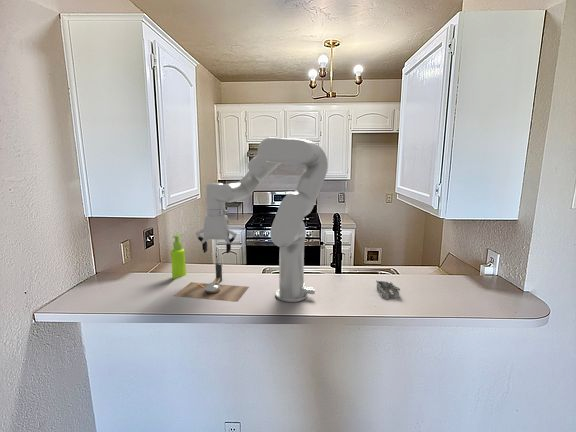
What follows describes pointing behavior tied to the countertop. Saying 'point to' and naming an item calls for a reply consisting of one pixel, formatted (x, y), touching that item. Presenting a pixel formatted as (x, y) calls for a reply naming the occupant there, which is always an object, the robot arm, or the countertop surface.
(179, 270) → the soap dispenser
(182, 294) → the brown flat rectangular board
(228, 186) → the robot arm
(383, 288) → the rough grey rock
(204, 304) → the countertop surface
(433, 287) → the countertop surface
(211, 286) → the ice cream scoop
